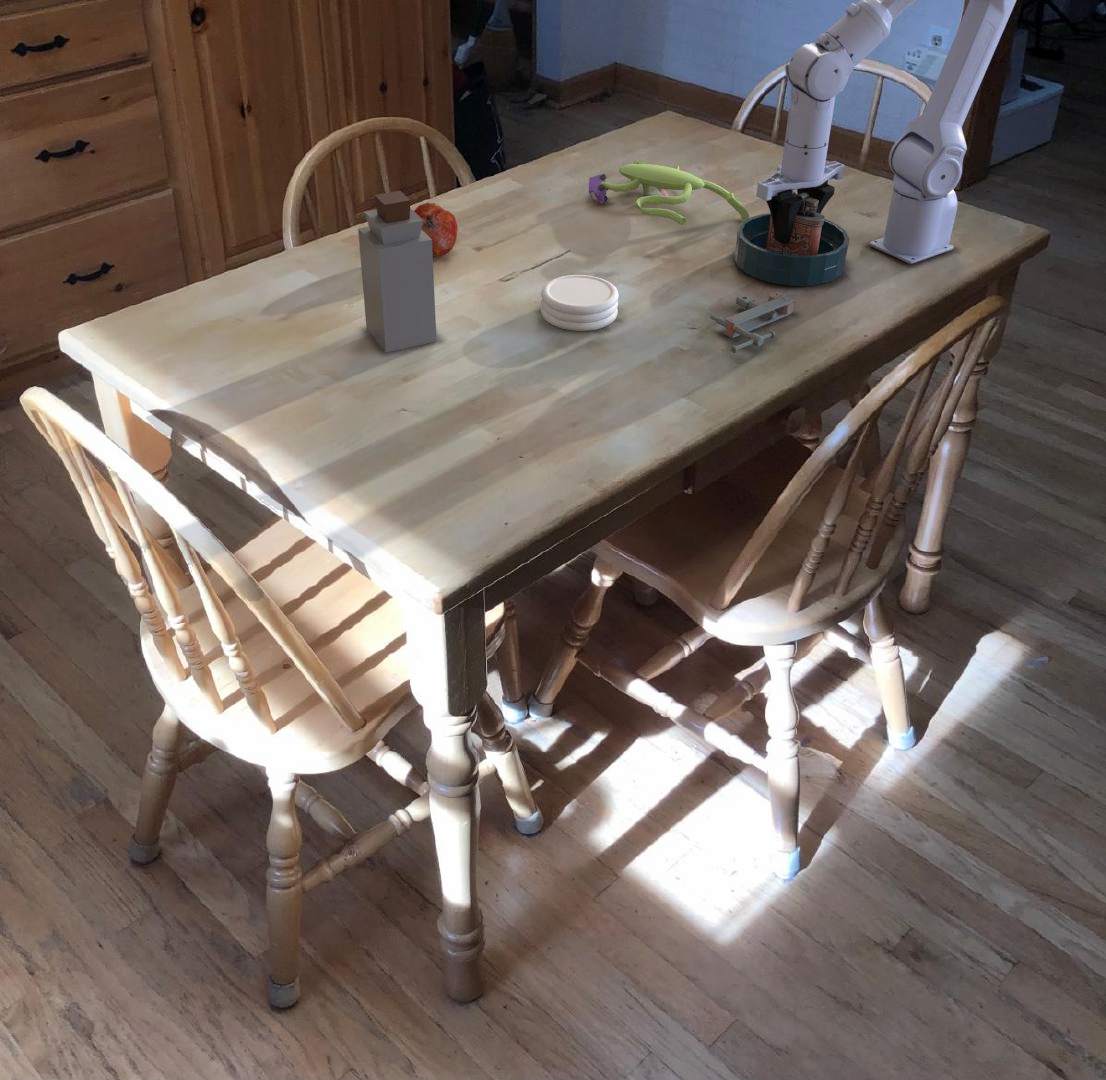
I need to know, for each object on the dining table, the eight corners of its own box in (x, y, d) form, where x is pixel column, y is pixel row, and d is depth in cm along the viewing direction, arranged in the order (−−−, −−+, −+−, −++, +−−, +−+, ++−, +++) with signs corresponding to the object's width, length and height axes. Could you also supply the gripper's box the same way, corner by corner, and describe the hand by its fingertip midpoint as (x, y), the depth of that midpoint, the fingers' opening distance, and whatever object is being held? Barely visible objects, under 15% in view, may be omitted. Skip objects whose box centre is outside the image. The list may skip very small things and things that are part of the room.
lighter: (821, 266, 171) (832, 197, 165) (808, 274, 169) (819, 204, 163) (772, 250, 175) (781, 182, 169) (759, 257, 173) (768, 189, 167)
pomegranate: (408, 258, 177) (390, 241, 167) (420, 209, 177) (403, 189, 167) (456, 270, 176) (442, 253, 166) (469, 220, 176) (455, 201, 166)
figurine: (656, 252, 175) (659, 215, 172) (566, 188, 194) (566, 153, 190) (761, 228, 182) (765, 192, 179) (663, 169, 201) (666, 135, 197)
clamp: (762, 282, 163) (819, 309, 157) (760, 297, 164) (816, 325, 158) (680, 314, 155) (737, 344, 149) (679, 329, 156) (735, 360, 150)
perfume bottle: (386, 352, 150) (375, 212, 139) (366, 329, 155) (355, 192, 144) (436, 341, 153) (430, 203, 142) (415, 318, 158) (408, 183, 147)
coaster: (529, 324, 157) (529, 299, 155) (556, 292, 164) (556, 268, 162) (603, 338, 154) (604, 313, 152) (627, 305, 162) (628, 280, 159)
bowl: (789, 233, 181) (793, 204, 178) (866, 270, 171) (871, 240, 169) (712, 257, 174) (715, 227, 171) (788, 297, 164) (792, 266, 161)
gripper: (823, 122, 168) (809, 216, 176) (745, 142, 161) (734, 239, 169) (861, 137, 163) (845, 233, 172) (783, 159, 157) (770, 257, 165)
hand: (792, 238), depth 170 cm, fingers closed on lighter, 4 cm apart
